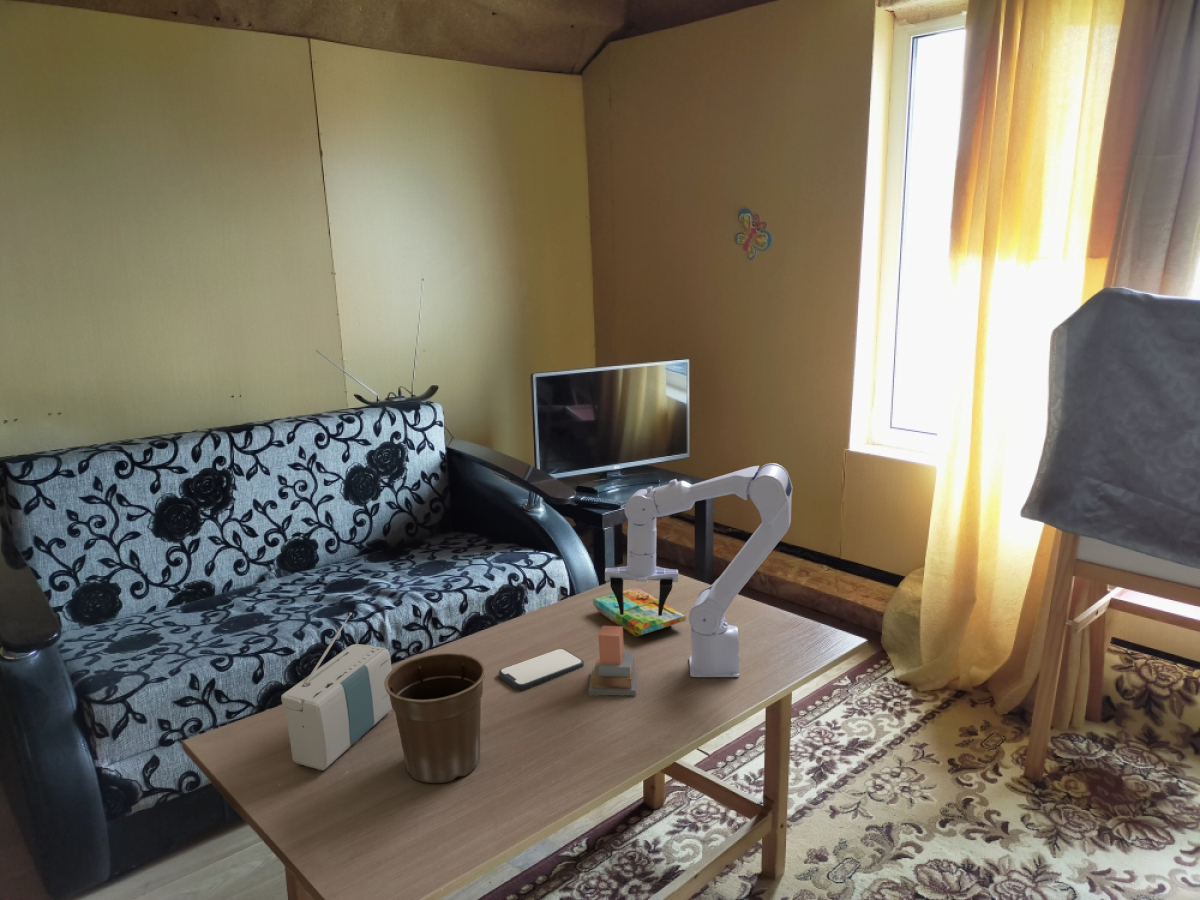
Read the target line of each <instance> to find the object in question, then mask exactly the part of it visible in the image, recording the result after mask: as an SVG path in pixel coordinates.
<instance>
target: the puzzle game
mask: <svg viewBox="0 0 1200 900" xmlns="http://www.w3.org/2000/svg"><path fill="white" fill-rule="evenodd" d="M623 600H624V615H620V610H619V605H618V602H617V599H616V597H615V595H614V593H610V594H607V595H602V596H599V597H596V598H593V600H592V604H593V606H594V607H595V609H596V610H597V611H598V612H599V613H600V614H601V615H603V616H604V617H606V618H607V619H609V620H610V621H611V622H613V623H614V624H616V625H617V626H623V630H625V631H626V632H628V633H630V634H632V635H633V636H634V637H636V638H637V637H640V636H643V635H646V634H650V633H652V632H656V631H659V630H663V629H666V628H669V627H671V626H673V625H676V624H679V623H683V622H686V619H687V617H686V615H684V614H683V613H681V612H680V611H677V610H675V608H673V607H671V606H670V605H667V604H666V603H665V604H664V607H663V611H662V616H658V605H659V598H655V597H654V596H653V595H651V594H649V593H647V592H646V591H644V590H642V589H640V588H639V587H637V586H636V587H632V588H628V589H625V590H624V589H623Z"/></svg>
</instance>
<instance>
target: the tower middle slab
mask: <svg viewBox="0 0 1200 900" xmlns="http://www.w3.org/2000/svg"><path fill="white" fill-rule="evenodd" d="M599 663H600V659H596V662H595V665H594V667H595V668H594V672H593V676H592V688H623V689H632V683H633V677H634V671H635V667H636V664H635V659H634V664H633V668H632V672H631V676H630V677H615V676H599Z"/></svg>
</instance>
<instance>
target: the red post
mask: <svg viewBox="0 0 1200 900" xmlns="http://www.w3.org/2000/svg"><path fill="white" fill-rule="evenodd" d="M624 644H625V643H624V628H623V626H619V625H601V628H600V630H599V633H598V651H599V653H598V654H599V660H600V664H615V665H621V662H622V659H623V656H624V652H625V650H624V649H625V648H624Z"/></svg>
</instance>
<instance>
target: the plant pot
mask: <svg viewBox="0 0 1200 900" xmlns="http://www.w3.org/2000/svg"><path fill="white" fill-rule="evenodd" d="M485 676H486V666H485V664H484V663H483V662H482V661H481V660H480V659H478V658H476V657H475V656H472V655H469V654H465V653H461V652H460V653H459V652H439V653H431V654H426V655H421V656H417V657H415V658H411V659H409V660H407V661H405V662H403V663H400V664H399V665H397V666H396V667H395V668H392V671H391V672H390V673H389V674H388V675H387V677H386V679H385V682H384V685H385V689H386V691H387V693H388V694H389V696H390V700H391V705H392V710H393V712H394V713H395V718H396V723H397V724H396V725H397V729H398V732H399V738H400V742H401V748H402V751H403V752H402V753H403V757H404V762H405V763H404V764H405V768H406V771H407V772H408V773H409V775H410V776H411V778H413V779H414V780H416V781H418V782H421V783H426V784H443V783H449V782H453V781H454V780H455V779H456V778H457V777H465V776H467V775H469V774H470V773H471V772H472V771H473V770H475V768H476V767H477V766H478V764H479V762H480V759H481V712H482V711H481V709H482V707H481V706H482V705H481V701H482V696H483V692H484V691H483V690H484V689H483V686H484V682H483V681H484V679H485Z"/></svg>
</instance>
